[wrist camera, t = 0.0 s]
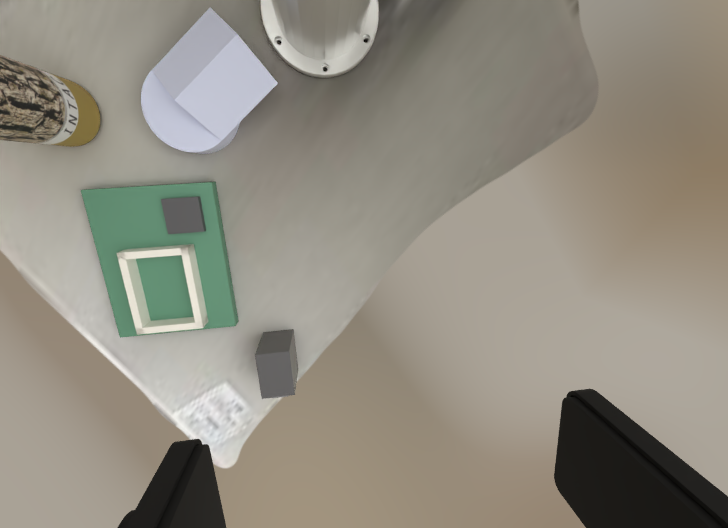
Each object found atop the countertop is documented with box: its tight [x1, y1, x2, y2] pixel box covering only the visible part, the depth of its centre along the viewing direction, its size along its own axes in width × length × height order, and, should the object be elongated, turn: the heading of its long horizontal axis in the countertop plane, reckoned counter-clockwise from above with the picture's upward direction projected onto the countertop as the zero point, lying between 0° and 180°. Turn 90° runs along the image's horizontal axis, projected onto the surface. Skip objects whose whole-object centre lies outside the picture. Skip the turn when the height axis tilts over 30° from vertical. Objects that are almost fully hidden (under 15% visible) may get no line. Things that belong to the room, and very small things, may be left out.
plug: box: [255, 330, 298, 399], centre depth 45 cm, size 7×4×6 cm, turn 3°
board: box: [81, 182, 238, 337], centre depth 41 cm, size 18×14×4 cm
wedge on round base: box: [141, 7, 278, 154], centre depth 36 cm, size 9×7×13 cm
